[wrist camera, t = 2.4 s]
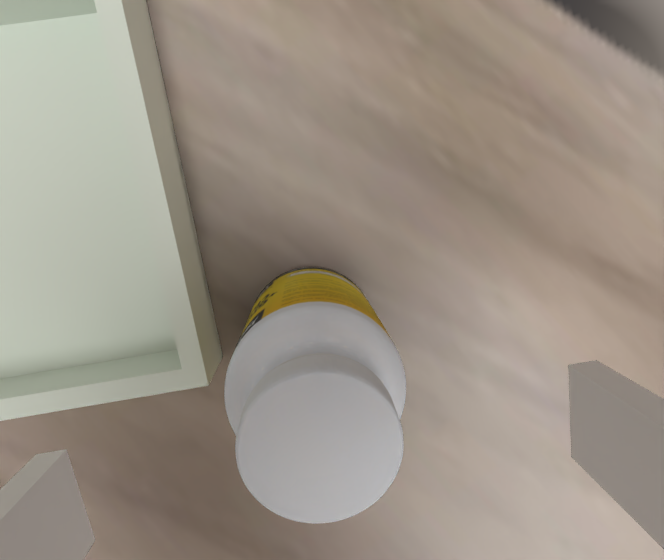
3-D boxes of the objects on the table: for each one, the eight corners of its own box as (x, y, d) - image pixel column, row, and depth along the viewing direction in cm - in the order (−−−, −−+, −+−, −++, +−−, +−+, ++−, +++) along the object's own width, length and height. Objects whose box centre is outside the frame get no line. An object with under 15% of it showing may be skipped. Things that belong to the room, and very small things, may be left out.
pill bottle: (284, 243, 22) (266, 293, 11) (391, 298, 23) (480, 398, 12) (230, 349, 23) (159, 501, 11) (335, 397, 24) (366, 582, 12)
